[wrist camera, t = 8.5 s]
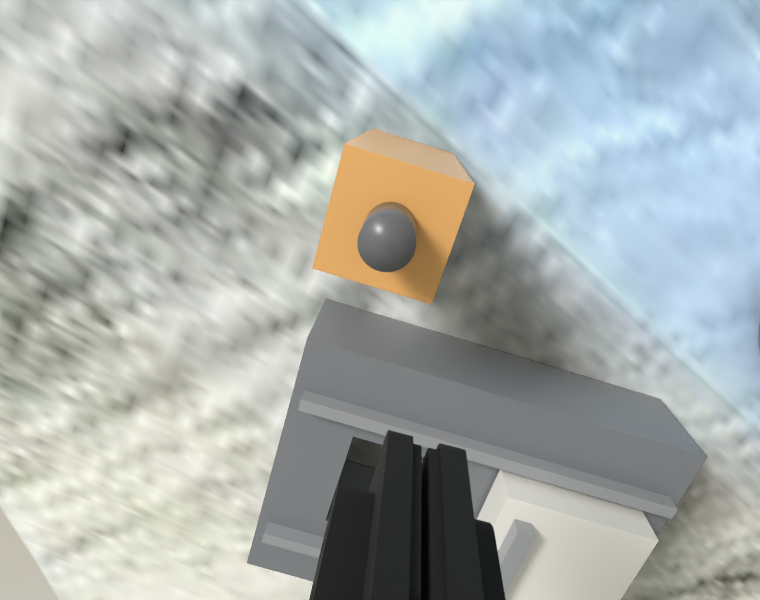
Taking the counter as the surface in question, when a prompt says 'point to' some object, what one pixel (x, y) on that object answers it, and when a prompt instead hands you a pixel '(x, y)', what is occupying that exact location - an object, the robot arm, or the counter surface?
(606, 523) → the shutter
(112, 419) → the counter surface
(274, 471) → the socket
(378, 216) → the plug
